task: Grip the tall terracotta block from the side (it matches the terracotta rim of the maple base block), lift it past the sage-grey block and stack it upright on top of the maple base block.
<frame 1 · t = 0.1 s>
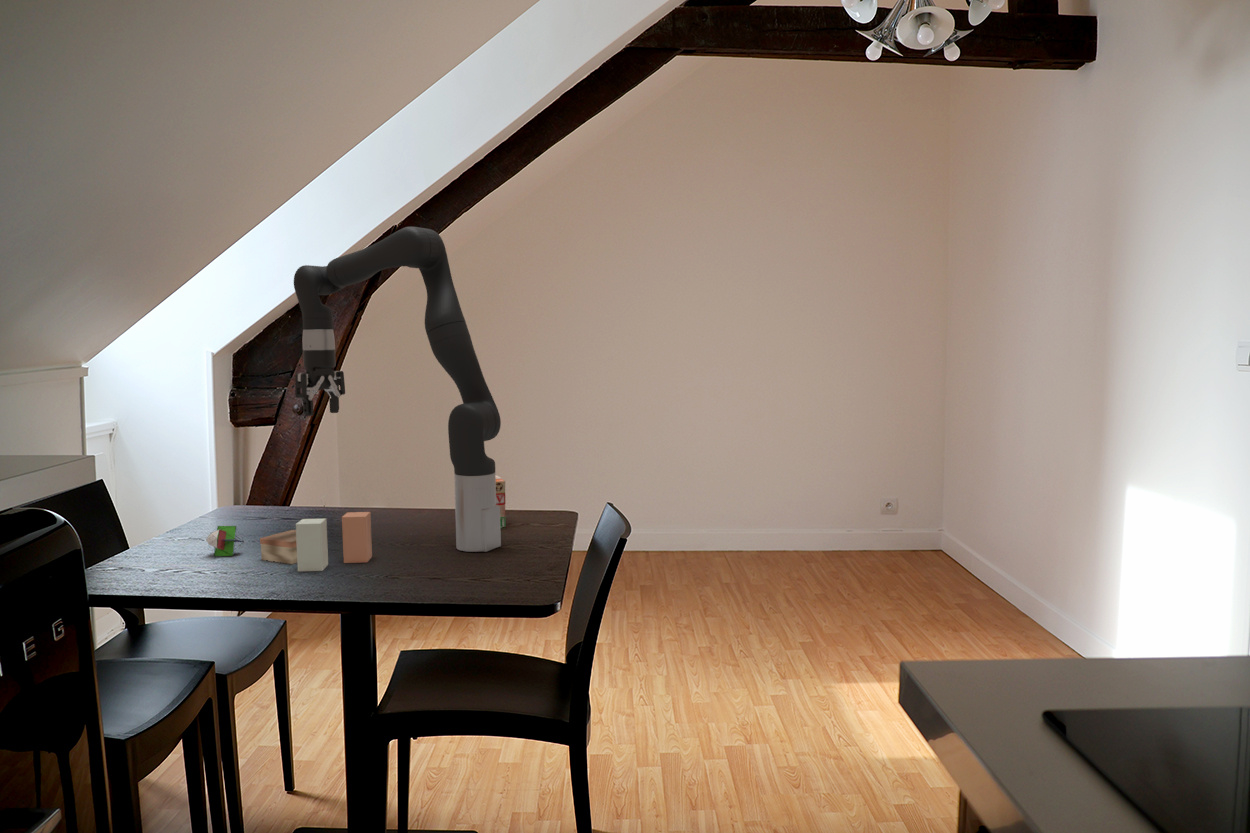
hand: (321, 414, 225), 29 cm above the table, tool pointing down, fingers open, 8 cm apart
geometric puzzle: (226, 555, 204), on the table
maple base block: (292, 558, 202), on the table
stack of blocks: (484, 522, 238), on the table
terracotta block: (358, 559, 199), on the table
sage block: (313, 568, 192), on the table
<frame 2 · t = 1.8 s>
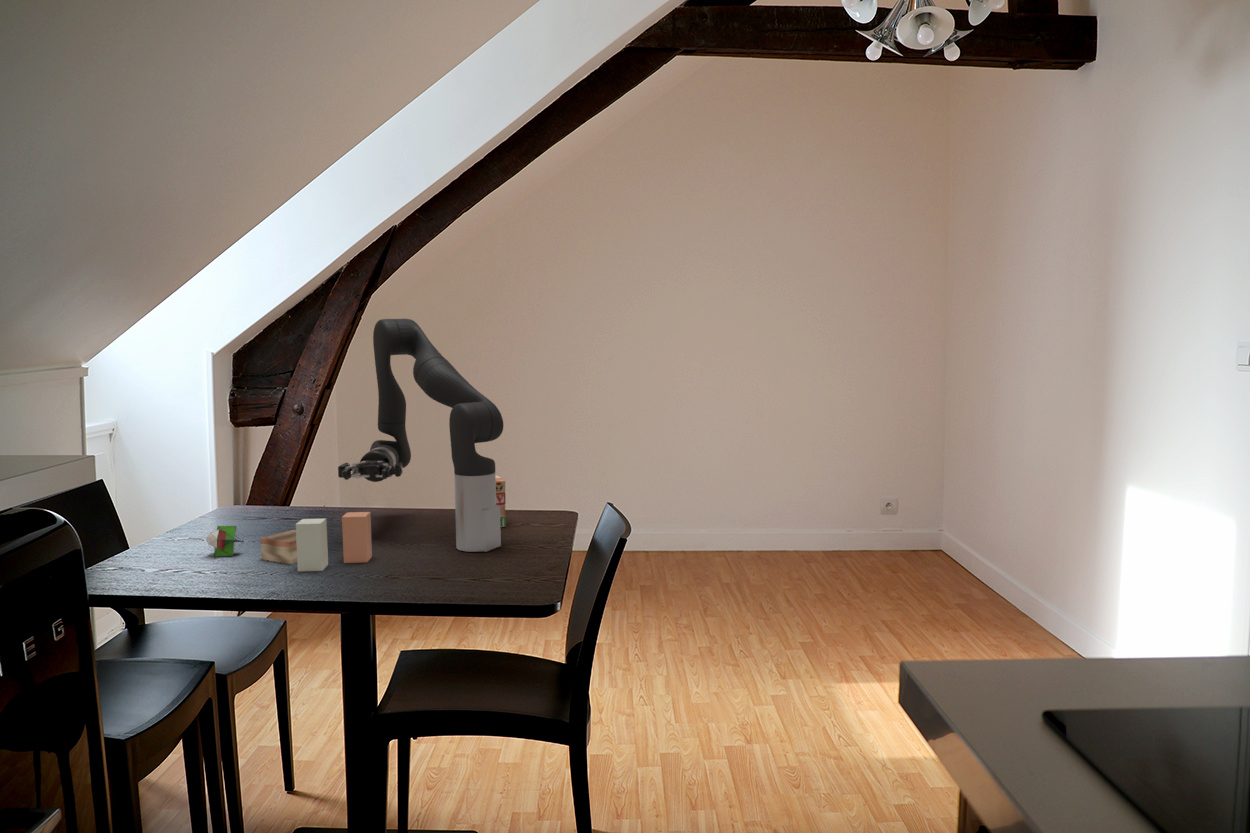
hand: (365, 474, 208), 17 cm above the table, tool horizontal, fingers open, 8 cm apart
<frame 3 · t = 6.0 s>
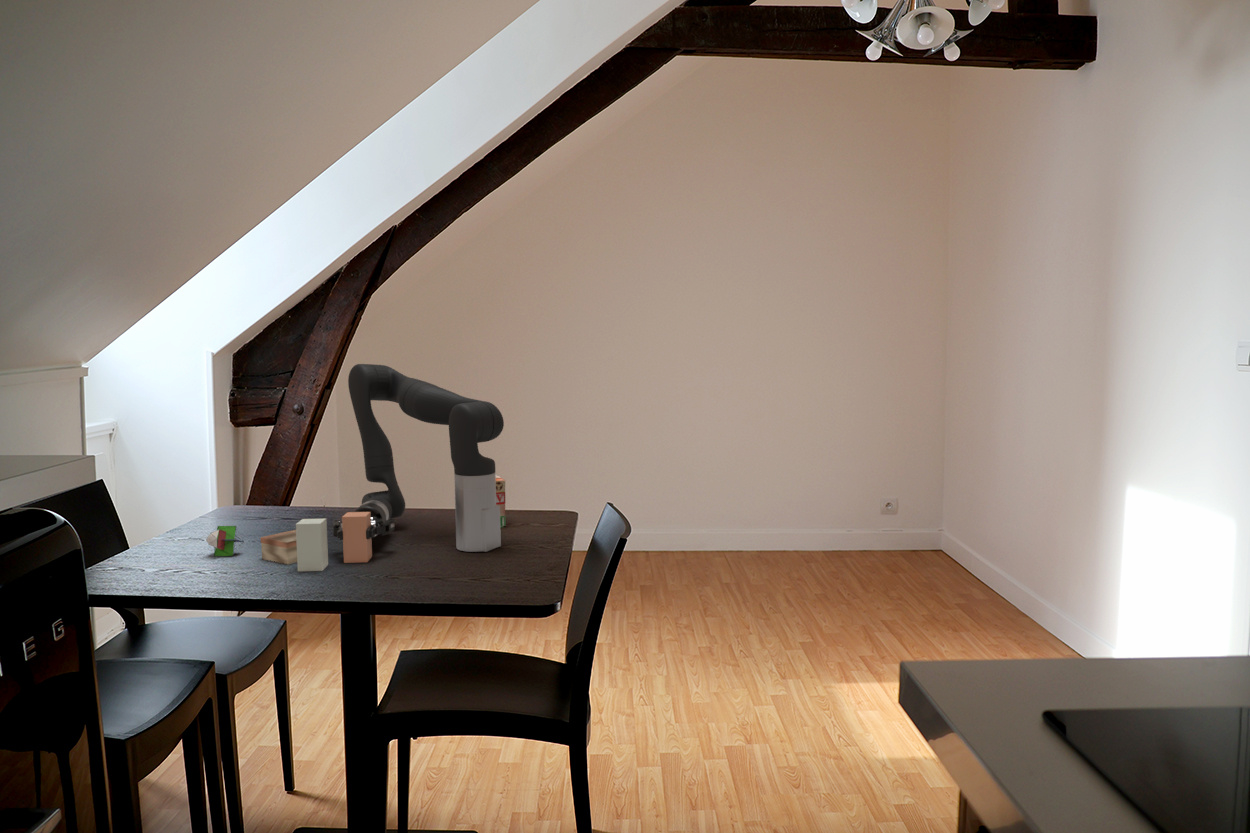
hand: (354, 535, 196), 6 cm above the table, tool horizontal, fingers closed on terracotta block, 5 cm apart
terracotta block: (358, 559, 199), on the table, touching gripper
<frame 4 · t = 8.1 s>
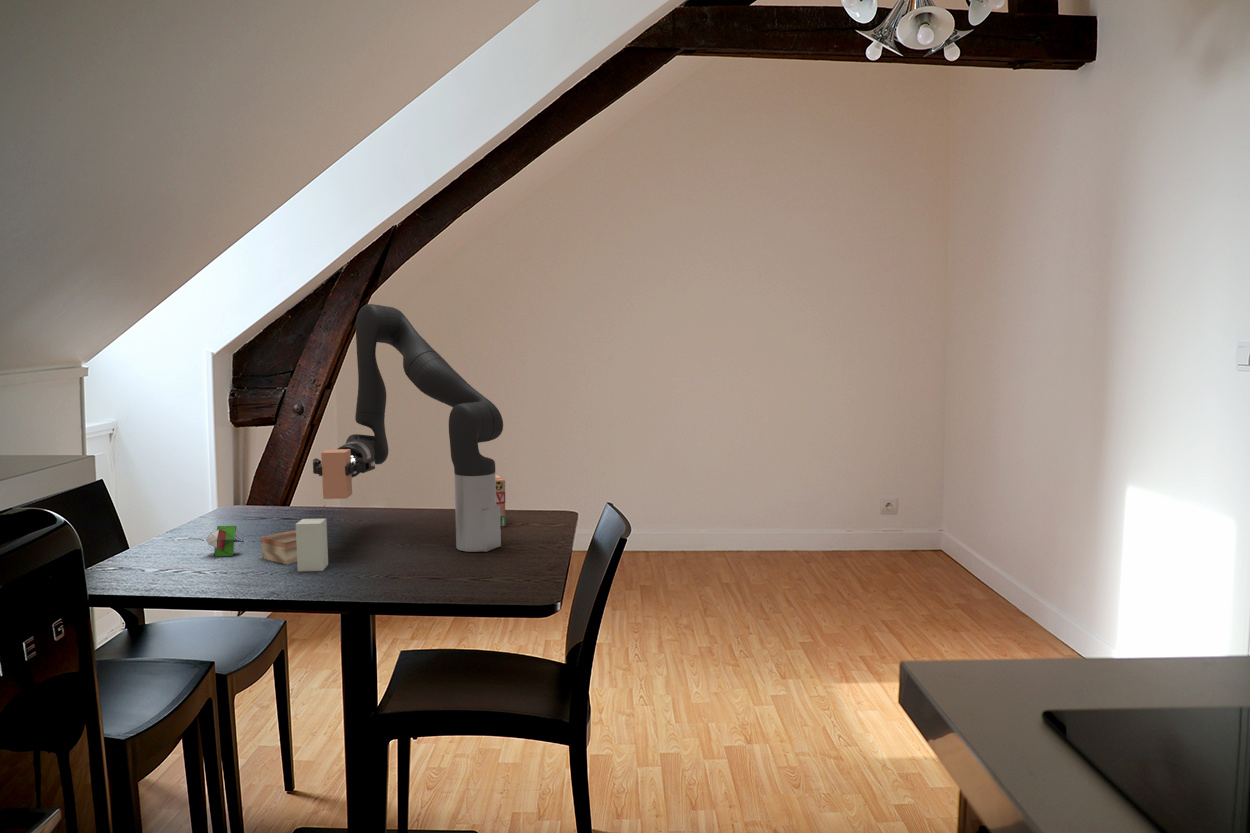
hand: (333, 471, 195), 20 cm above the table, tool horizontal, fingers closed on terracotta block, 5 cm apart
terracotta block: (337, 496, 199), point 14 cm above the table, touching gripper
when the fingers open (12 cm above the table, at t = 10.6 s): terracotta block drops 2 cm, resting on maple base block.
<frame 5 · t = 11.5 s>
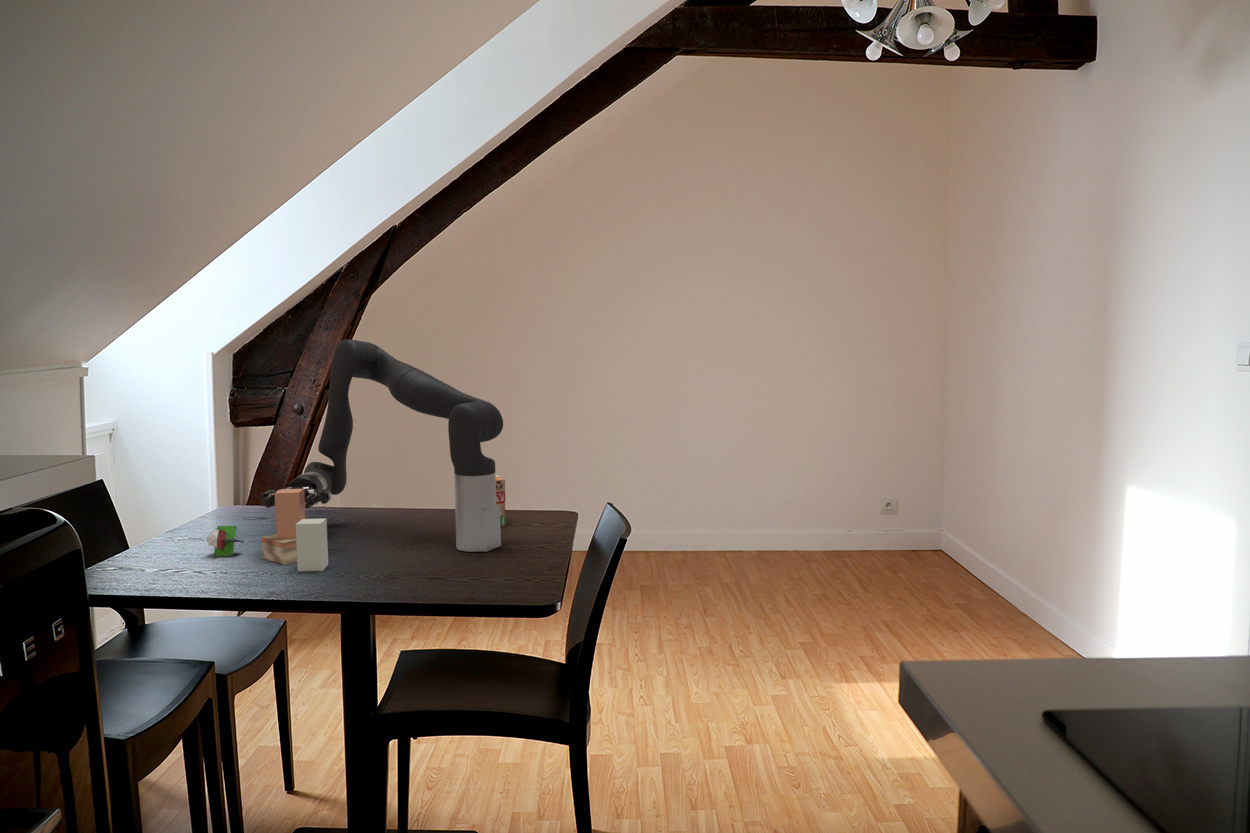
hand: (287, 502, 199), 13 cm above the table, tool horizontal, fingers open, 8 cm apart
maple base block: (292, 558, 202), on the table, touching terracotta block
terracotta block: (291, 535, 201), point 5 cm above the table, touching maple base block
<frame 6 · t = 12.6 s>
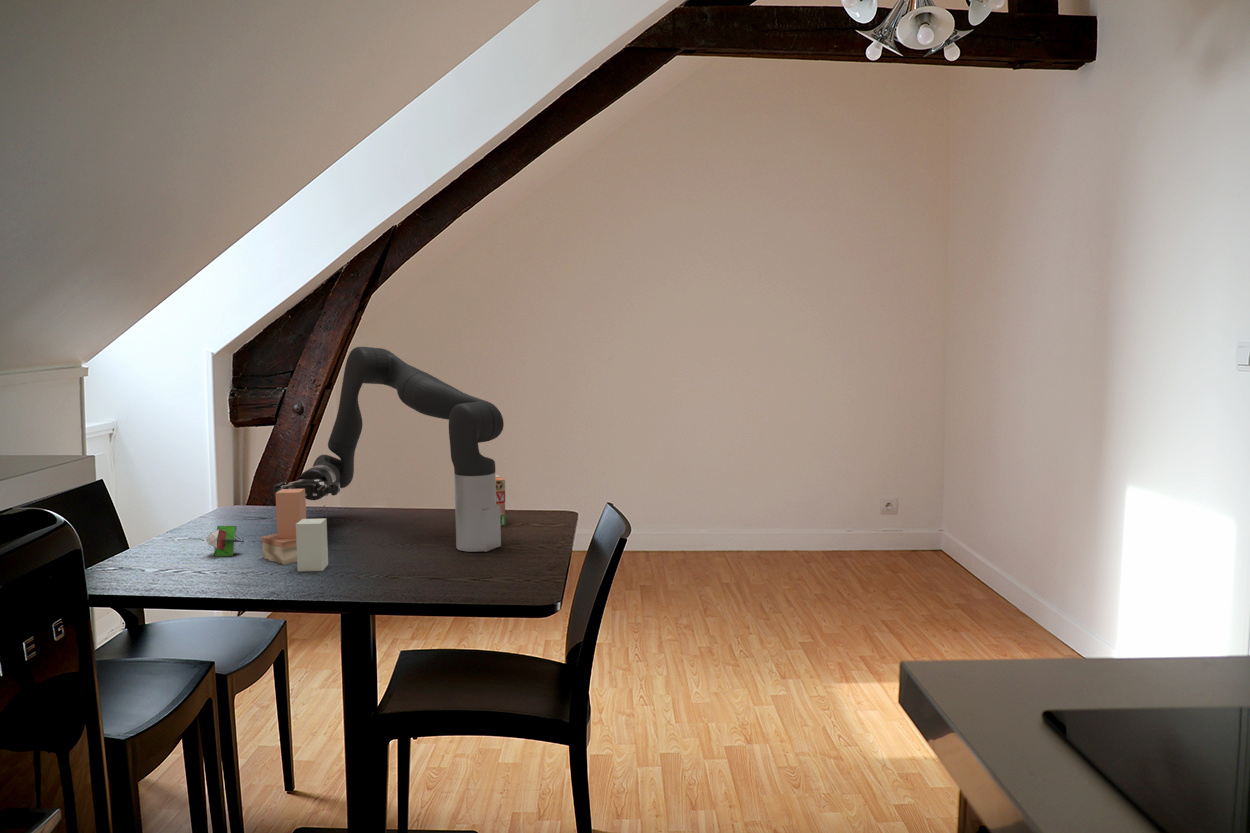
hand: (299, 494, 208), 13 cm above the table, tool horizontal, fingers open, 8 cm apart
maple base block: (292, 558, 202), on the table
terracotta block: (292, 535, 201), point 5 cm above the table
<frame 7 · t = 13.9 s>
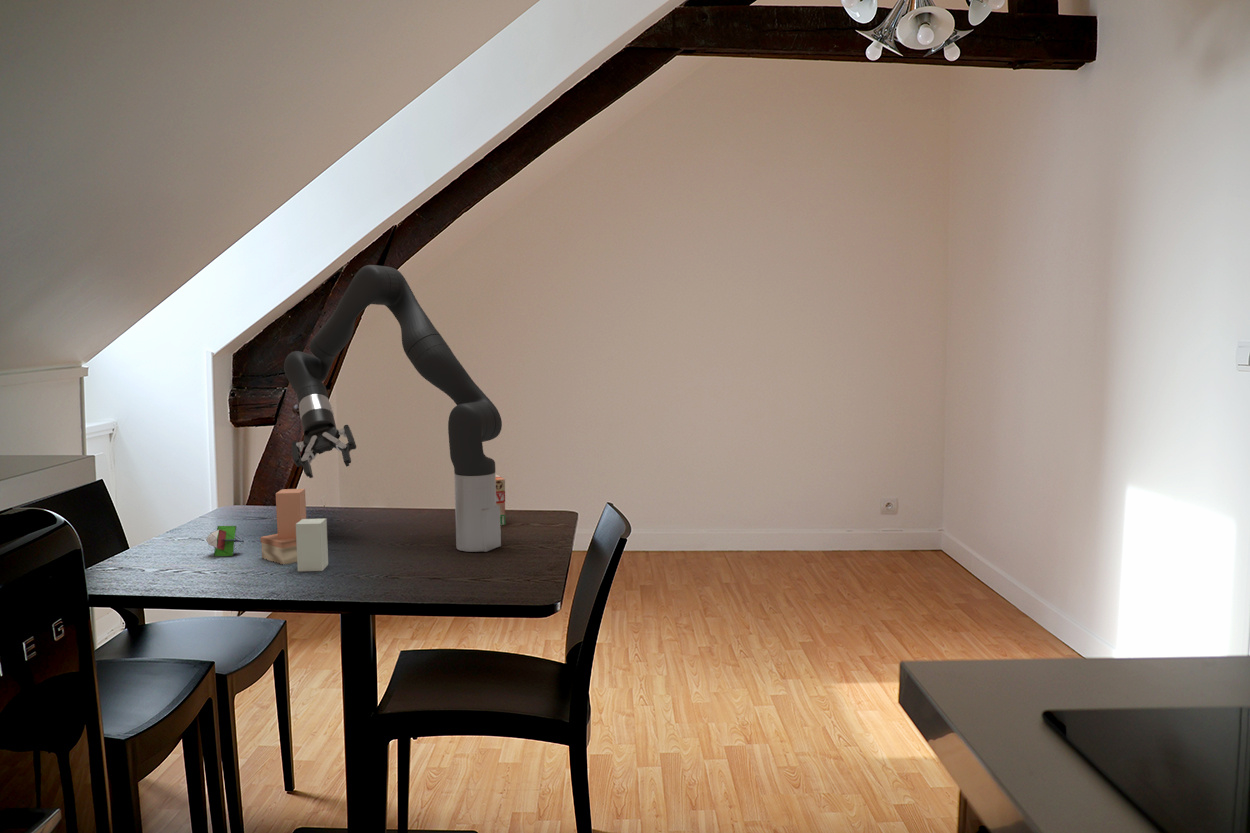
hand: (328, 470, 211), 17 cm above the table, tool tilted 45°, fingers open, 8 cm apart
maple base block: (291, 558, 202), on the table, touching terracotta block
terracotta block: (292, 535, 201), point 5 cm above the table, touching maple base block
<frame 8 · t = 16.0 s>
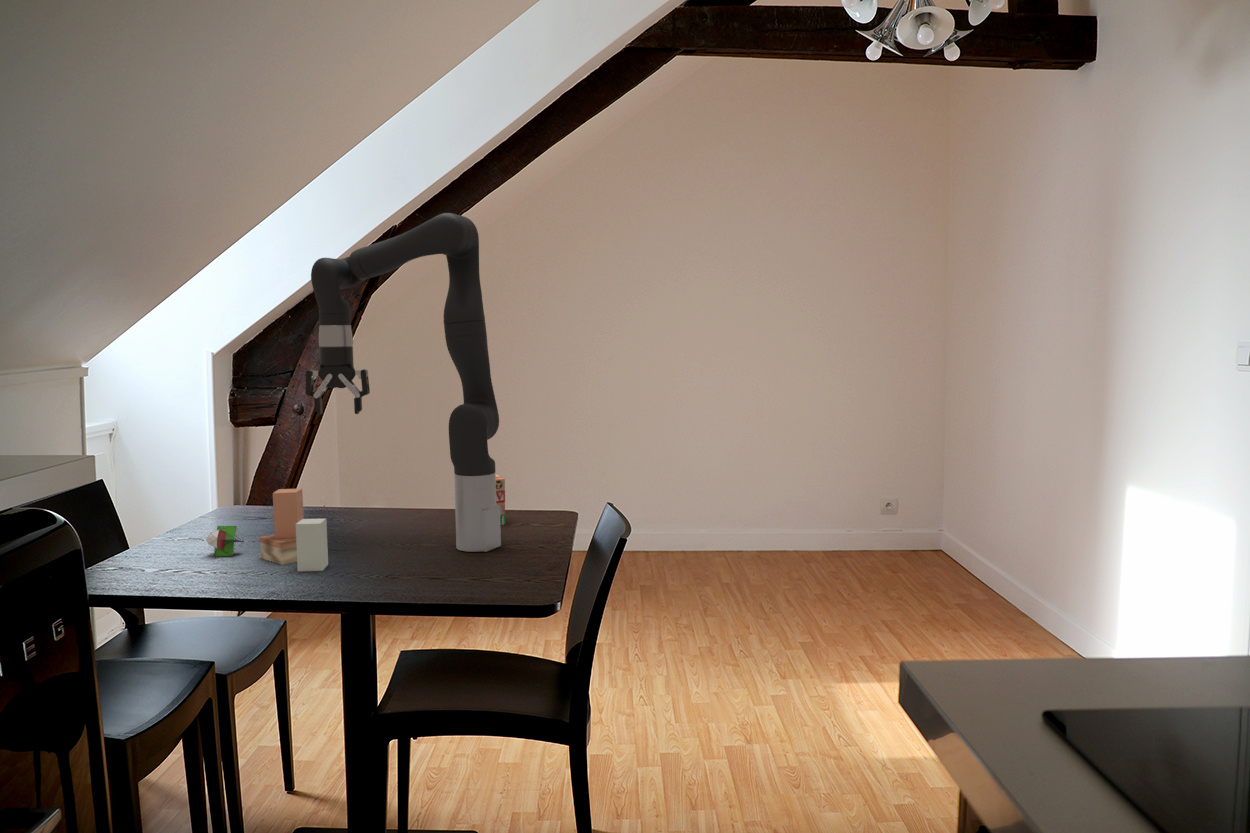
hand: (338, 413, 215), 30 cm above the table, tool pointing down, fingers open, 8 cm apart
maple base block: (290, 558, 201), on the table
terracotta block: (290, 535, 201), point 5 cm above the table
at the end: terracotta block 0.5 cm off-centre on the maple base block, point 5.0 cm above the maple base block's base; terracotta block tilted 1°; sage block moved 0.0 cm from its start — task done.
